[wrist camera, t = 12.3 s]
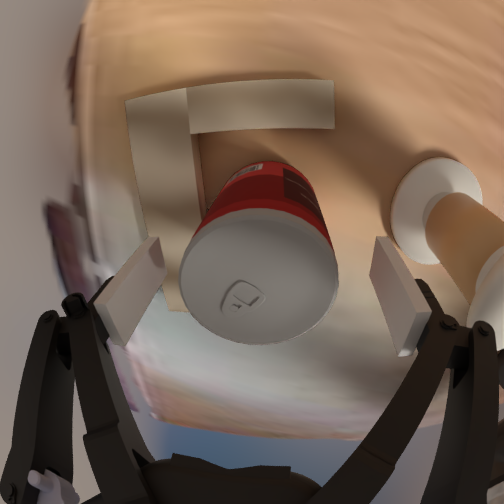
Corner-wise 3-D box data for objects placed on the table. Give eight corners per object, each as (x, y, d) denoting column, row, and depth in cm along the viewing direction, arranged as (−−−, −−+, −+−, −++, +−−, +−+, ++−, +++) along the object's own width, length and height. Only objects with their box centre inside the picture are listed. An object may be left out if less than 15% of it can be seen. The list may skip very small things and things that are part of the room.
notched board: (320, 302, 27) (321, 314, 25) (174, 299, 29) (169, 310, 27) (329, 82, 17) (333, 80, 15) (135, 99, 18) (124, 100, 17)
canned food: (208, 228, 24) (163, 317, 15) (241, 142, 20) (204, 183, 11) (289, 261, 25) (290, 361, 15) (332, 182, 21) (372, 255, 11)
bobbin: (463, 258, 23) (526, 348, 11) (381, 259, 24) (432, 375, 13) (484, 164, 18) (583, 229, 6) (396, 150, 19) (502, 218, 8)
